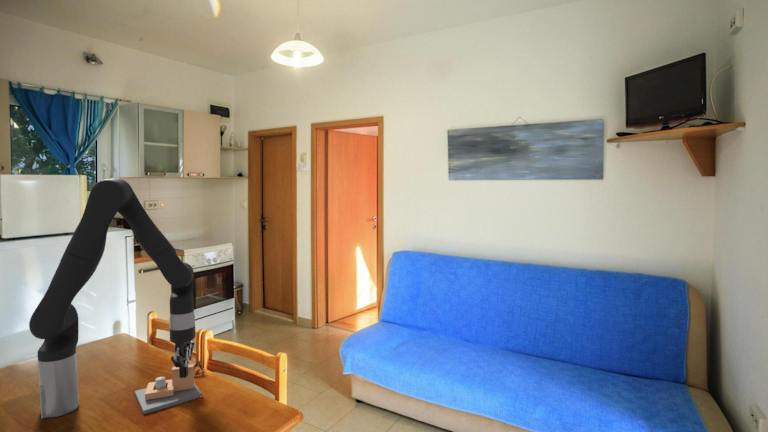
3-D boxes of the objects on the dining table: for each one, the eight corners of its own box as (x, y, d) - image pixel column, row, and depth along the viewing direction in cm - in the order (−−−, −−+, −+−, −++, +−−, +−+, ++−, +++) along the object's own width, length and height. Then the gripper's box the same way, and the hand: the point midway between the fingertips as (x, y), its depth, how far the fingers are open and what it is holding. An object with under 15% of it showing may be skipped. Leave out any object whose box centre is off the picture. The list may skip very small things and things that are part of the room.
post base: (143, 414, 128) (142, 395, 127) (134, 394, 140) (134, 377, 139) (202, 396, 139) (201, 379, 138) (189, 379, 150) (189, 363, 150)
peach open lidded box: (145, 400, 133) (144, 377, 133) (148, 388, 141) (147, 366, 140) (193, 392, 139) (193, 370, 138) (194, 381, 146) (194, 360, 145)
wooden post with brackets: (206, 368, 157) (201, 359, 156) (188, 384, 152) (183, 375, 150) (203, 367, 158) (198, 358, 157) (185, 383, 153) (180, 374, 151)
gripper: (186, 332, 130) (187, 386, 131) (201, 318, 143) (203, 367, 144) (160, 332, 129) (162, 386, 131) (179, 318, 142) (180, 367, 144)
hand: (183, 376), depth 138 cm, fingers closed
